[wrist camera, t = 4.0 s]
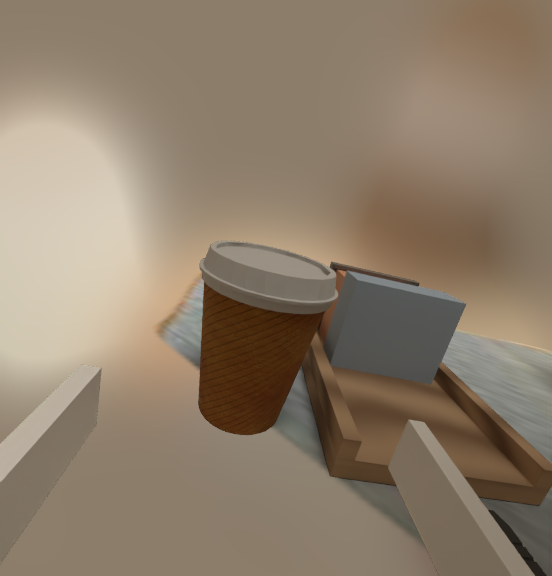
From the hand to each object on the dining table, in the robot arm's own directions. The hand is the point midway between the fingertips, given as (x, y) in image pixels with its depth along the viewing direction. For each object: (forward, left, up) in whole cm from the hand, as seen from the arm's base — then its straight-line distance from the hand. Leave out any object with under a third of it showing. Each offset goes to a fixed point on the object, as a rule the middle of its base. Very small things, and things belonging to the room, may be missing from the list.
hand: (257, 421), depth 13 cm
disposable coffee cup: (-8, -5, -7) cm, 12 cm away
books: (-24, +2, -5) cm, 25 cm away
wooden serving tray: (-20, +5, -7) cm, 22 cm away
